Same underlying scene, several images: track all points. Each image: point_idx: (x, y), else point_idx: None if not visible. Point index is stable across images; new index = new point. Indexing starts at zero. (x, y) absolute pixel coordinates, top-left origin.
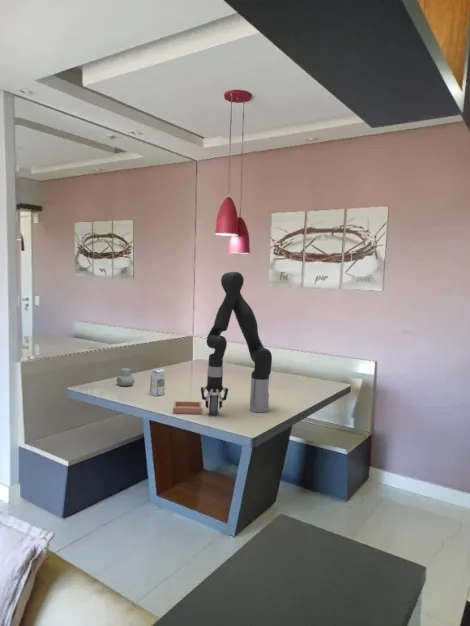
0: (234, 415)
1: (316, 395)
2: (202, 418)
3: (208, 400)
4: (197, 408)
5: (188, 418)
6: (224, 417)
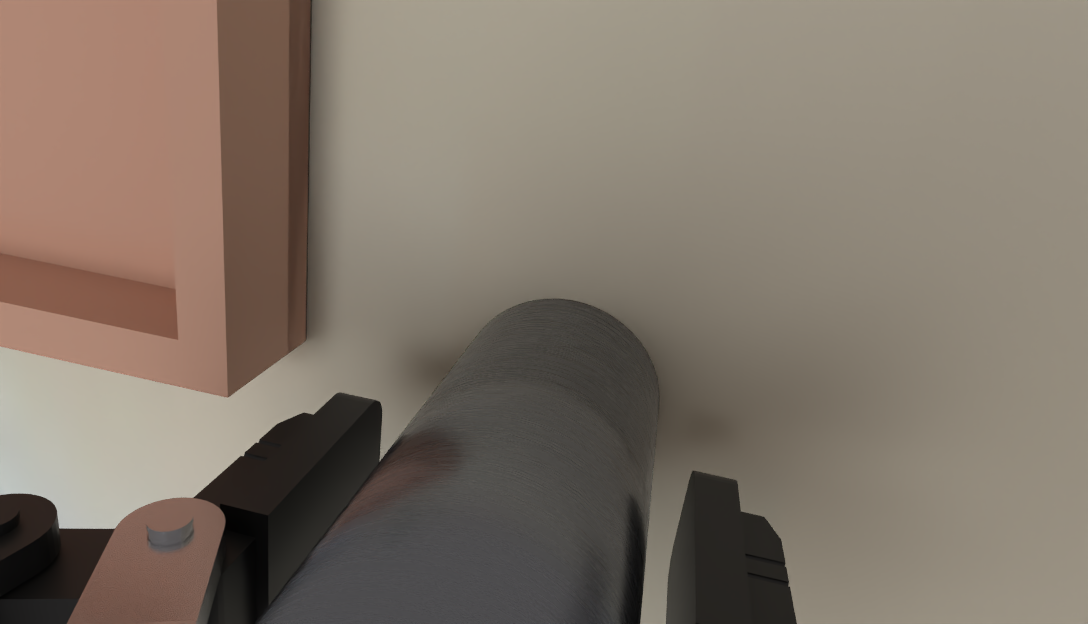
0: (1070, 506)
1: None
2: None
3: (268, 554)
4: (133, 369)
5: (95, 514)
6: None
